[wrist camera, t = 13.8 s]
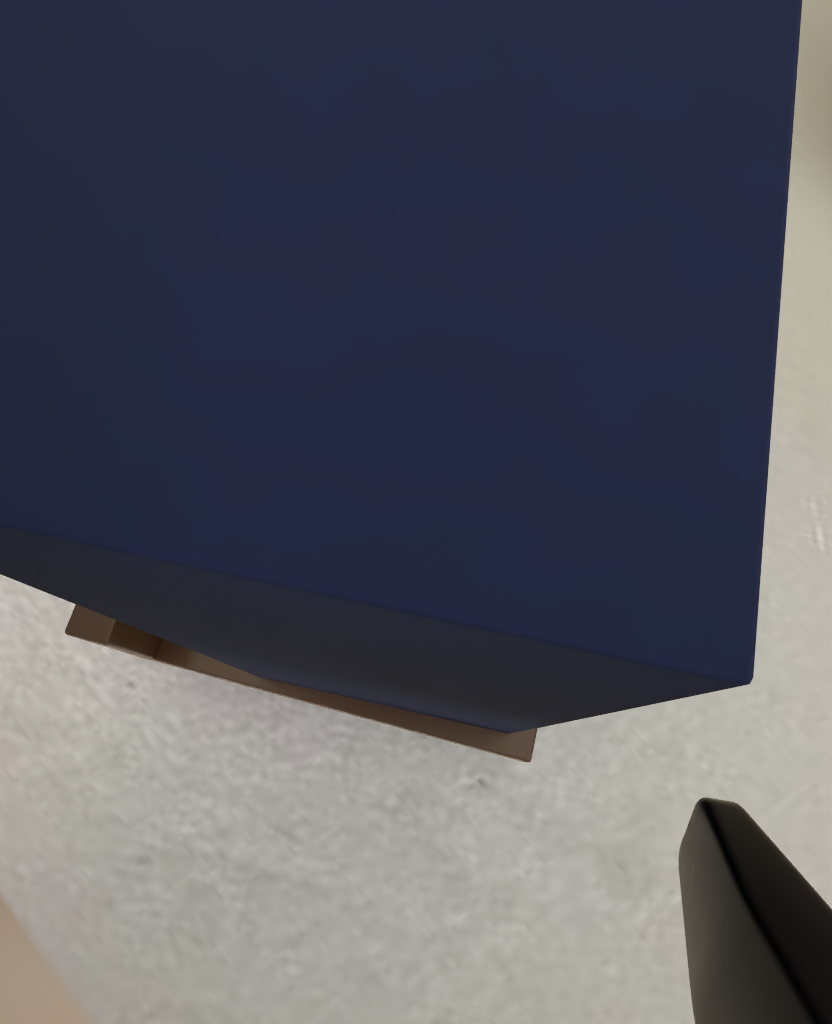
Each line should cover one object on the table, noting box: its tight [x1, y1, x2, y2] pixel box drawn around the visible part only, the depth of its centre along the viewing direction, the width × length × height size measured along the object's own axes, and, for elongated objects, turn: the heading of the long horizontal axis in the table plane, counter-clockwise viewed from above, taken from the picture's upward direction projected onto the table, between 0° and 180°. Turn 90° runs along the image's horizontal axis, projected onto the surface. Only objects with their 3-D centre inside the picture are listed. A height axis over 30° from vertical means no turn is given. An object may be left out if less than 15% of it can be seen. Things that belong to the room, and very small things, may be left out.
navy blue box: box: [0, 0, 802, 734], centre depth 12 cm, size 13×6×13 cm, turn 168°
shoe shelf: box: [65, 604, 537, 762], centre depth 19 cm, size 16×10×6 cm, turn 165°
